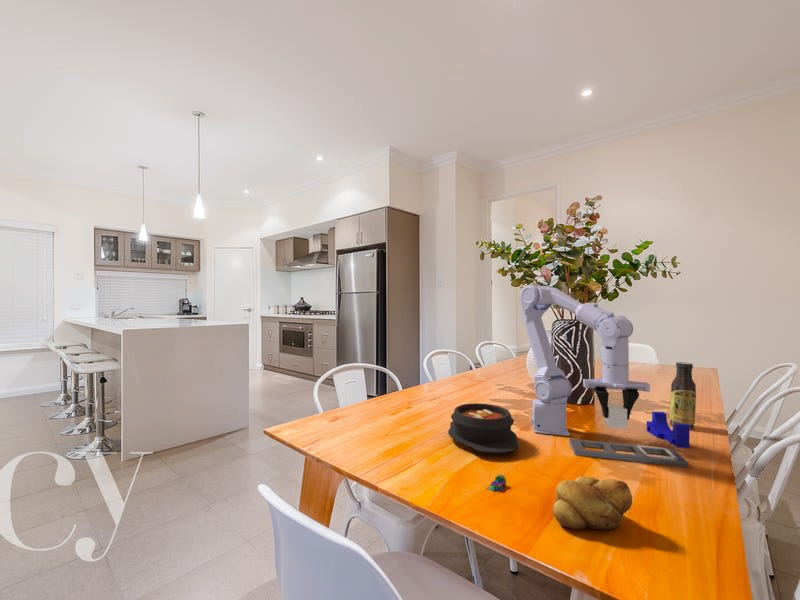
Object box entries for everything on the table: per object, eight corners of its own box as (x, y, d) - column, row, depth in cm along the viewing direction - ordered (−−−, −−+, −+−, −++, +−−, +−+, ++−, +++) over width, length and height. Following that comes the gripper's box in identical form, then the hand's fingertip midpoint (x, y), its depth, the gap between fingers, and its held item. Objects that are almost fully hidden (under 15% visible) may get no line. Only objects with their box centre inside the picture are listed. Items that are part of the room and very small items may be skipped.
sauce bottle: (673, 428, 108) (673, 363, 109) (666, 422, 114) (666, 360, 114) (699, 431, 106) (699, 365, 106) (691, 425, 112) (691, 361, 112)
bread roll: (568, 541, 57) (568, 491, 57) (536, 506, 67) (536, 464, 67) (639, 534, 59) (639, 485, 59) (598, 501, 69) (598, 459, 69)
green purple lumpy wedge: (493, 483, 76) (493, 472, 76) (505, 487, 75) (505, 476, 75) (484, 491, 73) (484, 479, 73) (497, 495, 71) (497, 483, 71)
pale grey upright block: (608, 427, 89) (608, 407, 89) (604, 422, 93) (604, 403, 93) (627, 429, 88) (627, 408, 88) (622, 424, 92) (622, 404, 92)
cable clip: (646, 431, 107) (646, 411, 107) (663, 432, 106) (663, 411, 106) (670, 447, 95) (670, 424, 95) (689, 448, 94) (689, 425, 94)
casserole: (537, 457, 88) (537, 423, 88) (466, 463, 85) (466, 428, 85) (493, 423, 113) (493, 397, 113) (436, 427, 109) (436, 399, 109)
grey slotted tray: (574, 455, 89) (574, 449, 89) (569, 443, 97) (569, 437, 97) (688, 467, 83) (688, 461, 83) (672, 453, 90) (672, 447, 90)
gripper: (587, 365, 89) (587, 419, 89) (654, 368, 85) (655, 425, 84) (581, 360, 96) (581, 411, 95) (643, 363, 91) (644, 416, 91)
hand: (615, 417), depth 90 cm, fingers closed on pale grey upright block, 4 cm apart
